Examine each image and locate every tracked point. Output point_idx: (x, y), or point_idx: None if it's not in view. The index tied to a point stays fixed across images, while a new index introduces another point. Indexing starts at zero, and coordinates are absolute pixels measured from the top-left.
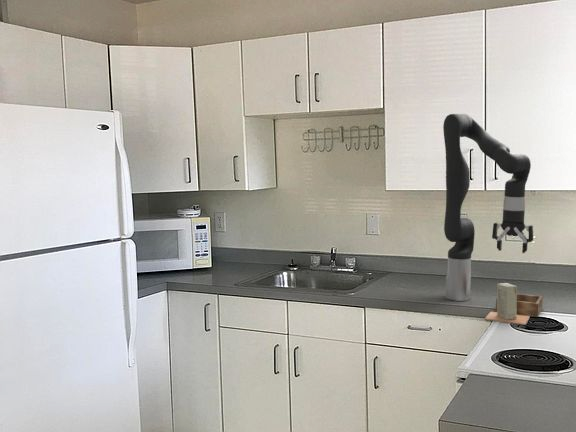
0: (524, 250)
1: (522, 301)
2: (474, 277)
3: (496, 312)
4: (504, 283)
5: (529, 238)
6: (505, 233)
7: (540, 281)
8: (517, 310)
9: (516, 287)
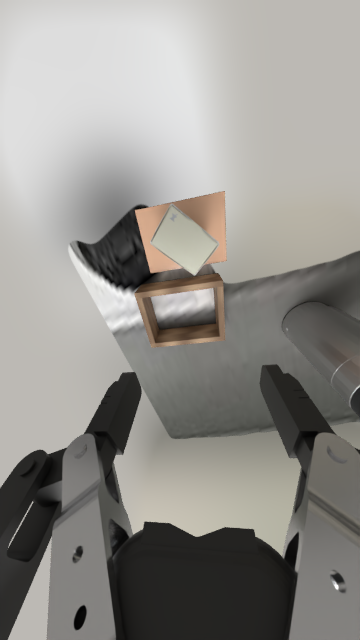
0: (119, 386)
1: (167, 293)
2: None
3: (213, 260)
4: (198, 260)
5: (20, 493)
6: (304, 586)
7: (203, 435)
8: (176, 281)
9: (151, 240)
